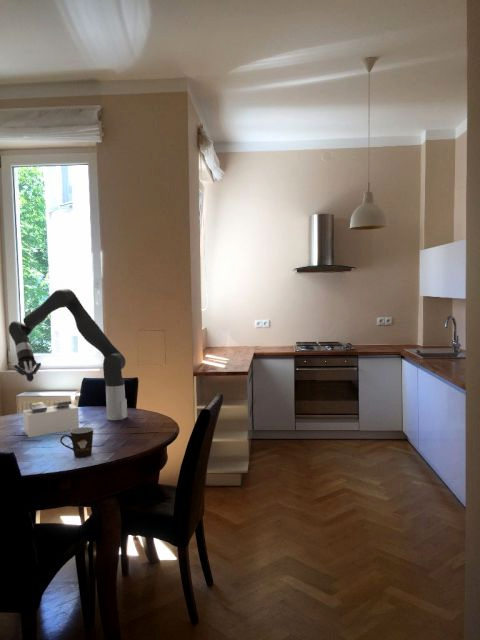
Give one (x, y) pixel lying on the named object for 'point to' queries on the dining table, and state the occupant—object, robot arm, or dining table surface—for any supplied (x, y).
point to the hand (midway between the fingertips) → (30, 380)
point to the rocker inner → (62, 403)
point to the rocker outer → (37, 407)
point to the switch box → (50, 420)
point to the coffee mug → (81, 441)
